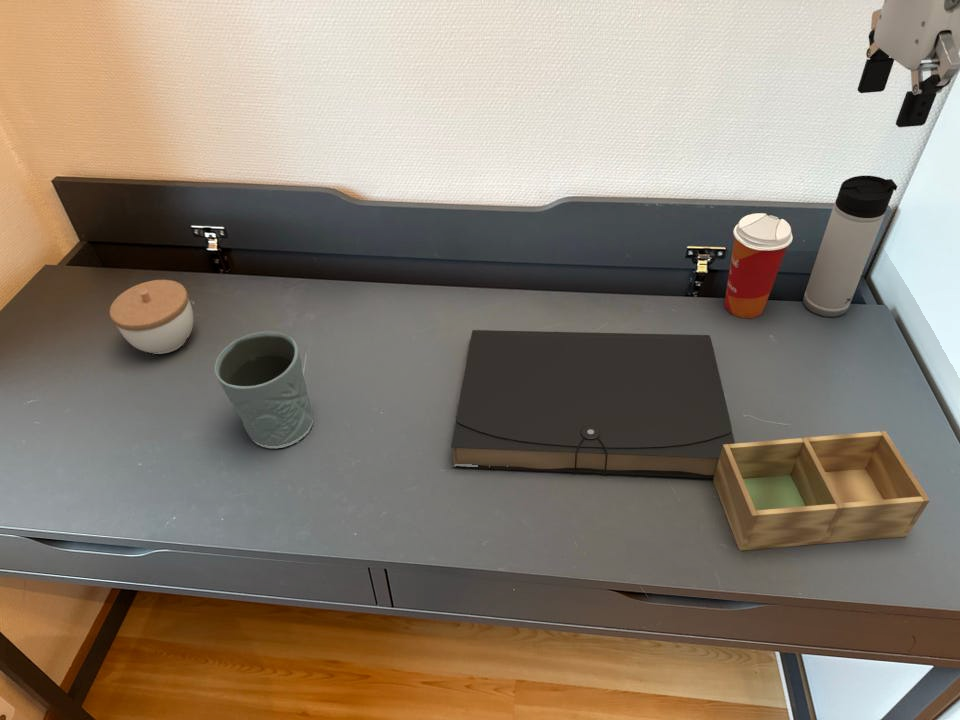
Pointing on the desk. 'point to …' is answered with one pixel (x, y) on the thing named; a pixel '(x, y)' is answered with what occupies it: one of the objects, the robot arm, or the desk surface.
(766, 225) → the paper cup
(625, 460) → the file folder
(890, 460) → the storage box
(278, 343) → the green ceramic cup
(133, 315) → the trinket box
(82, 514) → the desk surface
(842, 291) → the travel mug
